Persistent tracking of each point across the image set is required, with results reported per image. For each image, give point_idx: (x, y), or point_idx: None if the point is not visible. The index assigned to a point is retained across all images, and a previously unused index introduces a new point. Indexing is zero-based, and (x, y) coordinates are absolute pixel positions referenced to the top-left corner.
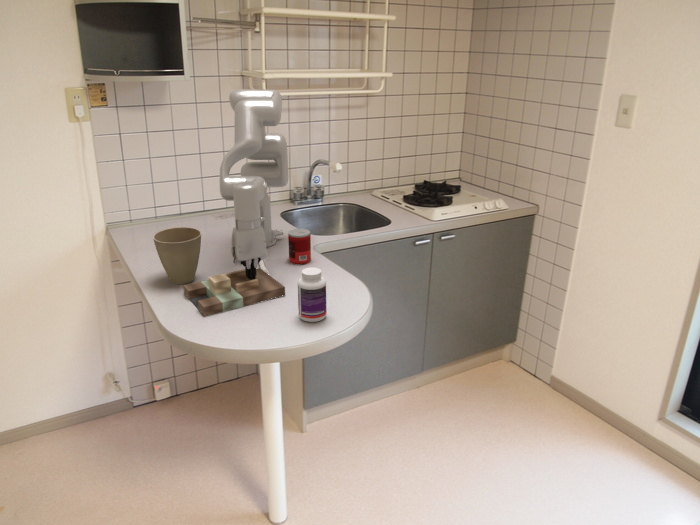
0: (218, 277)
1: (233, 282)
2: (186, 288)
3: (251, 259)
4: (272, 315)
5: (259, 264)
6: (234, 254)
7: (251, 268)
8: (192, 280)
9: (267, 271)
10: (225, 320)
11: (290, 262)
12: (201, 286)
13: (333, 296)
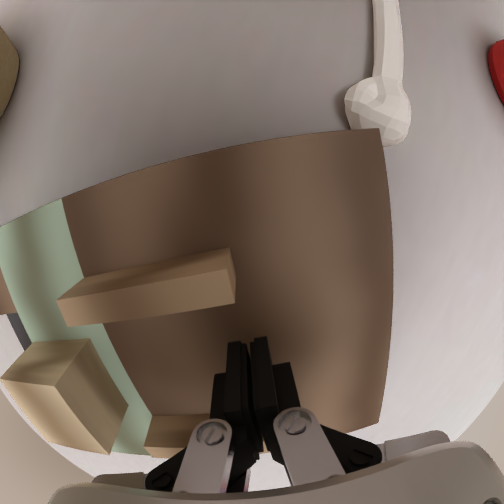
0: (44, 412)
1: (135, 321)
2: None
3: (289, 473)
4: (265, 473)
5: (376, 9)
6: (68, 498)
7: (257, 455)
8: (4, 108)
9: (406, 132)
10: (132, 456)
11: (490, 71)
12: (2, 296)
13: (457, 403)
